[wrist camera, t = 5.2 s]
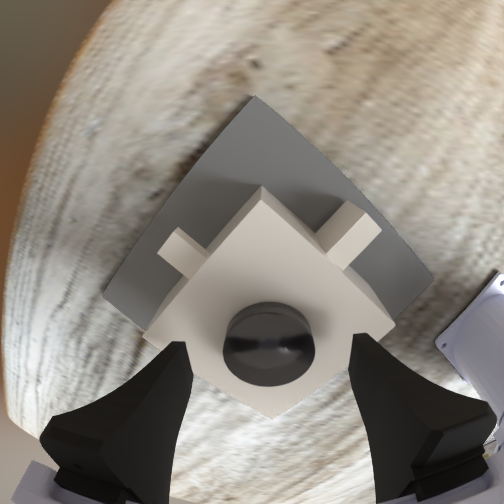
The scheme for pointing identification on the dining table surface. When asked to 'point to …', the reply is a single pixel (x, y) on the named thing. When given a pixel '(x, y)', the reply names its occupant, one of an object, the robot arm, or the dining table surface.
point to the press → (266, 256)
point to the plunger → (268, 344)
